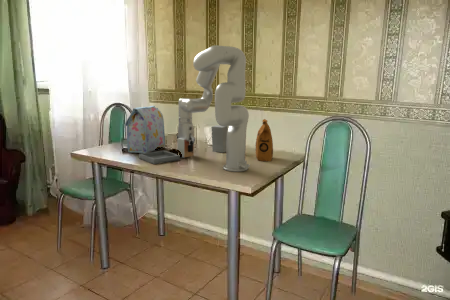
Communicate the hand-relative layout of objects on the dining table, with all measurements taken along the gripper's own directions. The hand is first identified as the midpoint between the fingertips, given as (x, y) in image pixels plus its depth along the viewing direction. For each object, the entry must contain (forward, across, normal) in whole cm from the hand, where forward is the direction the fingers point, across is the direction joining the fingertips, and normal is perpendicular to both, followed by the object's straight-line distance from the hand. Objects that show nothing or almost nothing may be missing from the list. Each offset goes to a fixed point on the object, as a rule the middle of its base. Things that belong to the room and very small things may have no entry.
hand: (185, 150), depth 204 cm
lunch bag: (+4, +28, +10) cm, 30 cm away
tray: (+3, +2, +16) cm, 16 cm away
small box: (+4, 0, 0) cm, 4 cm away
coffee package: (+4, -32, -31) cm, 45 cm away
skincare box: (+4, -2, -24) cm, 24 cm away
